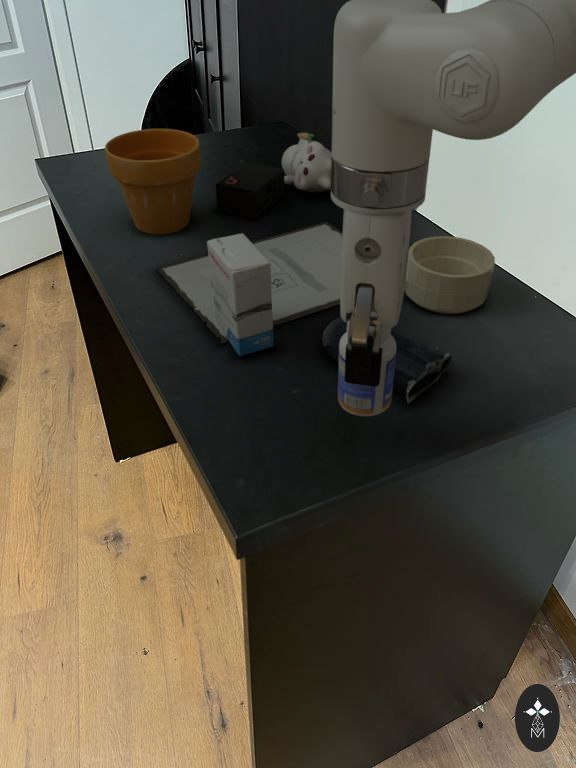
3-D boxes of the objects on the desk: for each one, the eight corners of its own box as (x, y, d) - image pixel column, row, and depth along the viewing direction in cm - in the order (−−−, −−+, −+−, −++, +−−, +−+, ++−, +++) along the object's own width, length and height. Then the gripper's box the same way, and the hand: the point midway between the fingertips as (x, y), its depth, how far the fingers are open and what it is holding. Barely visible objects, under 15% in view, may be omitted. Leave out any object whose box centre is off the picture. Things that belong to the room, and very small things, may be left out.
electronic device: (284, 196, 116) (284, 168, 112) (256, 220, 108) (255, 191, 105) (247, 189, 118) (246, 161, 115) (217, 211, 111) (215, 183, 107)
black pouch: (450, 377, 78) (355, 315, 85) (460, 345, 74) (359, 282, 80) (402, 422, 74) (306, 353, 80) (410, 391, 70) (307, 321, 76)
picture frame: (221, 344, 81) (411, 280, 93) (221, 342, 81) (411, 278, 93) (154, 269, 95) (326, 222, 107) (154, 267, 95) (326, 220, 107)
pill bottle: (372, 378, 68) (378, 298, 62) (402, 408, 65) (411, 325, 59) (327, 393, 67) (329, 312, 61) (354, 425, 63) (359, 341, 57)
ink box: (275, 348, 80) (274, 262, 72) (236, 358, 78) (231, 272, 71) (248, 312, 86) (245, 230, 78) (212, 321, 84) (205, 238, 77)
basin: (485, 279, 93) (494, 240, 90) (486, 321, 85) (495, 281, 81) (407, 270, 95) (412, 232, 92) (399, 311, 87) (404, 271, 83)
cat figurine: (283, 123, 117) (330, 137, 107) (315, 140, 123) (364, 155, 112) (262, 174, 120) (307, 193, 109) (295, 189, 125) (341, 208, 114)
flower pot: (219, 232, 105) (213, 151, 96) (132, 250, 100) (118, 166, 92) (189, 199, 115) (181, 123, 106) (109, 214, 110) (94, 136, 102)
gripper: (418, 229, 44) (396, 427, 55) (433, 145, 57) (413, 319, 69) (310, 220, 46) (310, 415, 57) (348, 140, 59) (342, 312, 70)
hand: (366, 361), depth 63 cm, fingers closed on pill bottle, 5 cm apart
